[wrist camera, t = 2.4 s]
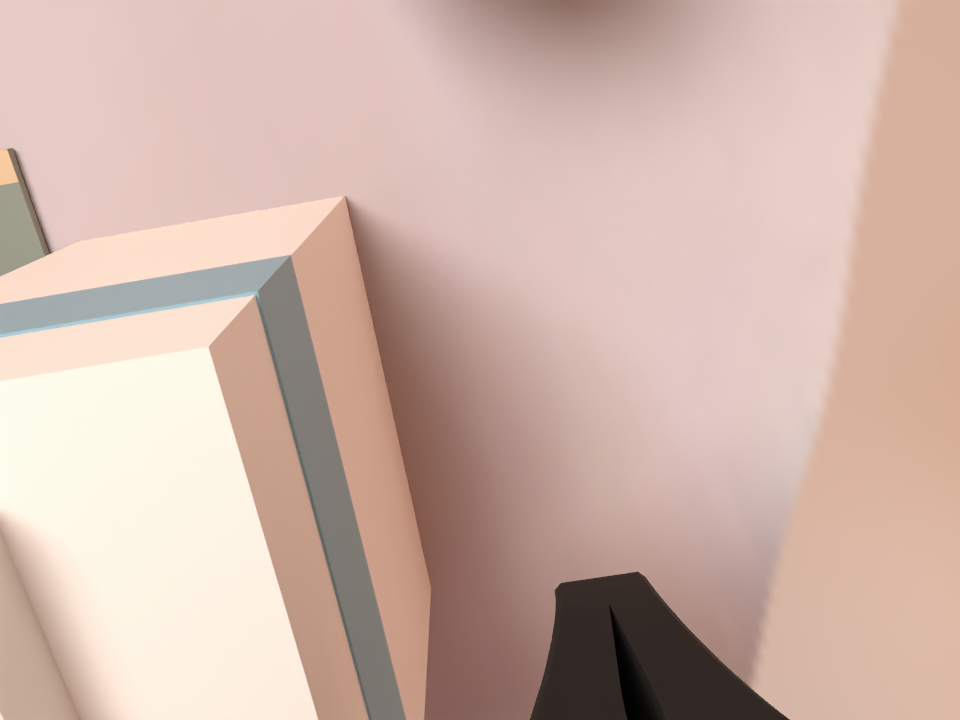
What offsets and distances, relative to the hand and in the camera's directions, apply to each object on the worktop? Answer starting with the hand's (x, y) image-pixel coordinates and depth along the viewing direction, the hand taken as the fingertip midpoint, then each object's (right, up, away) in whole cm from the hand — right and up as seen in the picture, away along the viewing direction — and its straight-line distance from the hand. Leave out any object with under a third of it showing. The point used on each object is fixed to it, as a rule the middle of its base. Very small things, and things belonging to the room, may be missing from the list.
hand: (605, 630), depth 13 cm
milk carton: (-8, +2, +10) cm, 13 cm away
